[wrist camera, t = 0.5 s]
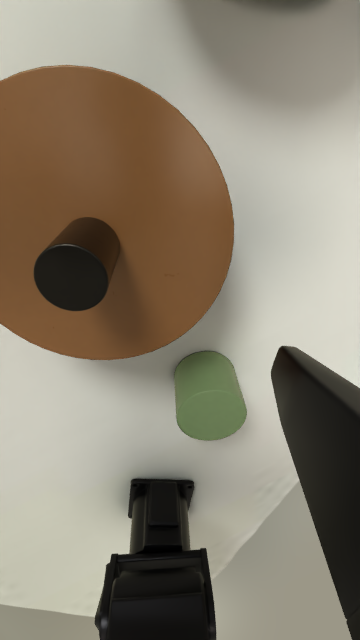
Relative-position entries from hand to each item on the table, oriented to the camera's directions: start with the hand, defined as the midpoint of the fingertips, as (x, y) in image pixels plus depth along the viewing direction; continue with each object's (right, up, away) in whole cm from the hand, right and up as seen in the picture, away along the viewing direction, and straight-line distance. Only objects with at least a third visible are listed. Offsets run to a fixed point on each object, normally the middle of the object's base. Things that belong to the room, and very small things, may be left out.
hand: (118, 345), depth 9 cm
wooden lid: (-2, +4, +7) cm, 8 cm away
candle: (+4, -4, +18) cm, 19 cm away
